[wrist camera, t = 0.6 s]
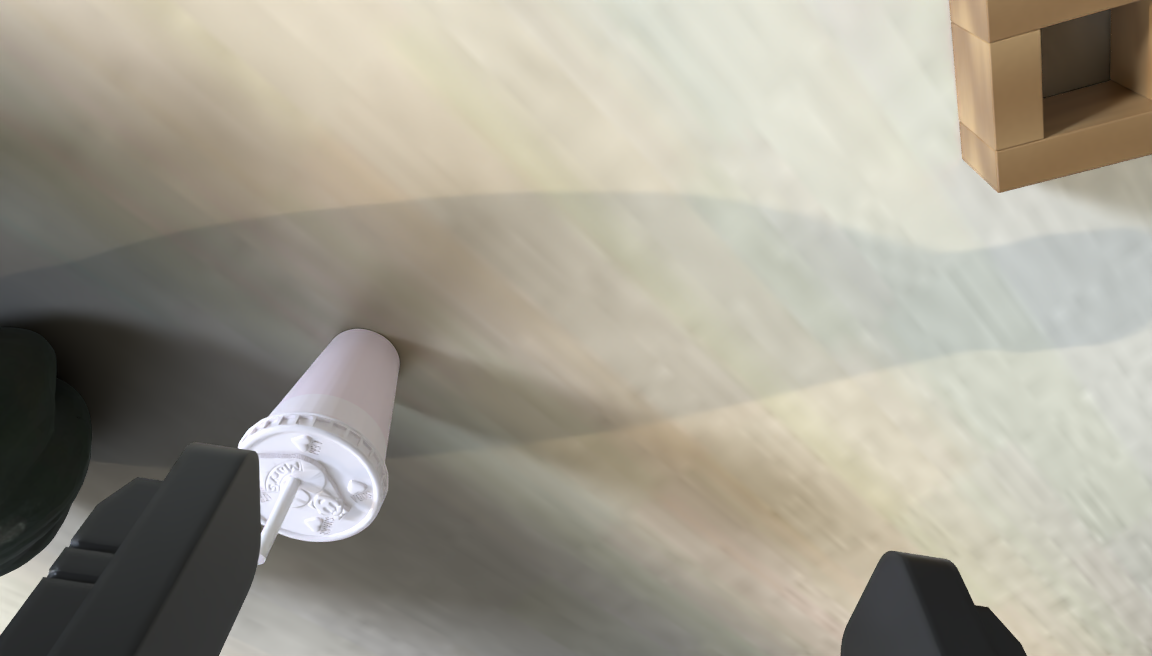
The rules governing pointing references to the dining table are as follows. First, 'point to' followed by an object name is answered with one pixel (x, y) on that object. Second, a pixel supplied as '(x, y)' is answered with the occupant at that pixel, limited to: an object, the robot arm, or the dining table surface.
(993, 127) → the rack
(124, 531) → the robot arm
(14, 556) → the squash
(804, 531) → the dining table surface
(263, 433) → the smoothie
